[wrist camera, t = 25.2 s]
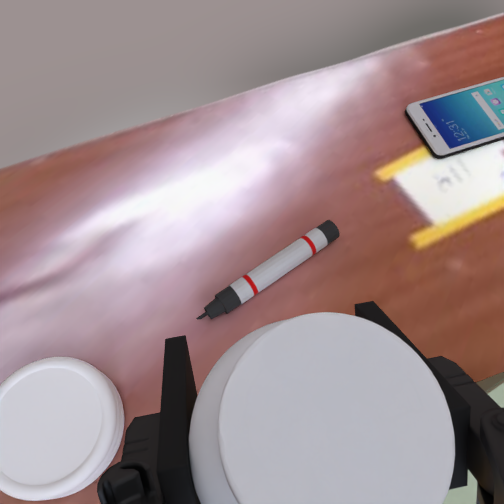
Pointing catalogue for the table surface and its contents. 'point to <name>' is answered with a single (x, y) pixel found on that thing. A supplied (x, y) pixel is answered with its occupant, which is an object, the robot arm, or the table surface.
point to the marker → (271, 269)
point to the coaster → (57, 428)
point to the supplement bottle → (321, 419)
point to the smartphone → (460, 118)
